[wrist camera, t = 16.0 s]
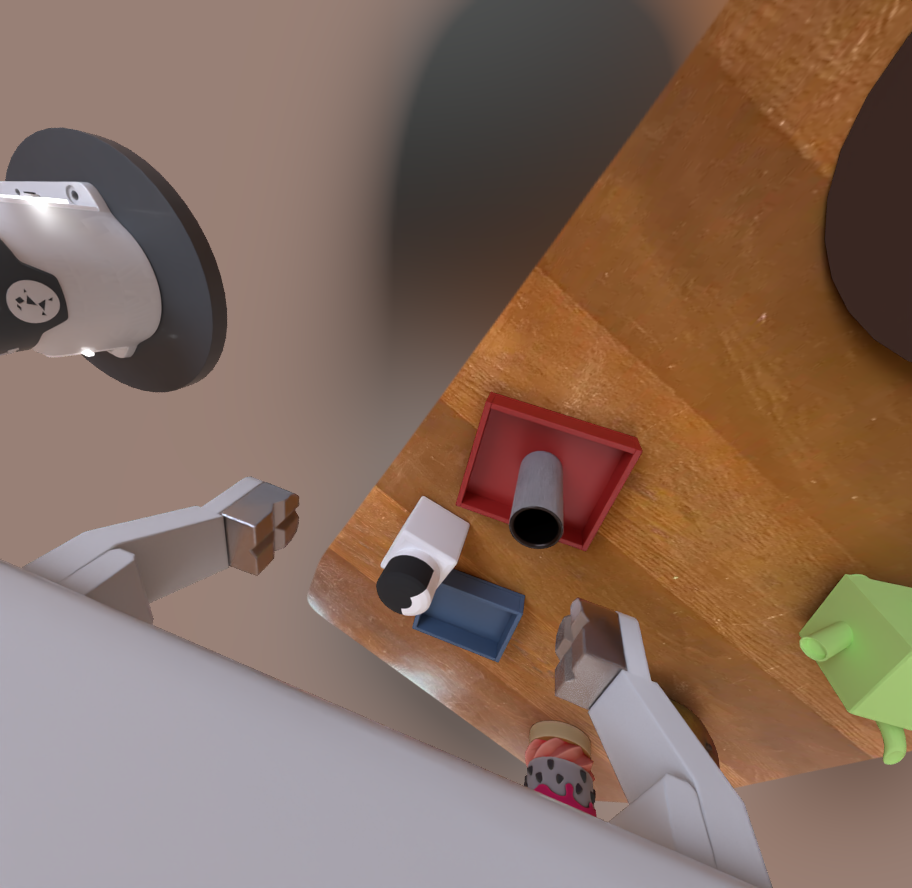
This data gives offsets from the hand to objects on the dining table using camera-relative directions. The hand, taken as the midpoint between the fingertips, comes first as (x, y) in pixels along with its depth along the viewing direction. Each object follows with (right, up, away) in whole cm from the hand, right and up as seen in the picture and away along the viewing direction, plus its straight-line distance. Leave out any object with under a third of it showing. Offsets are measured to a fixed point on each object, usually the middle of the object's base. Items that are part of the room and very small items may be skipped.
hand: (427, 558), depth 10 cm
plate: (+40, +21, +12) cm, 47 cm away
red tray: (+10, +1, +30) cm, 32 cm away
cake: (+18, -46, +52) cm, 72 cm away
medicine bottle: (-2, -7, +38) cm, 39 cm away
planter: (+10, +1, +30) cm, 32 cm away
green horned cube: (+44, -14, +28) cm, 54 cm away
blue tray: (+3, -20, +43) cm, 47 cm away
